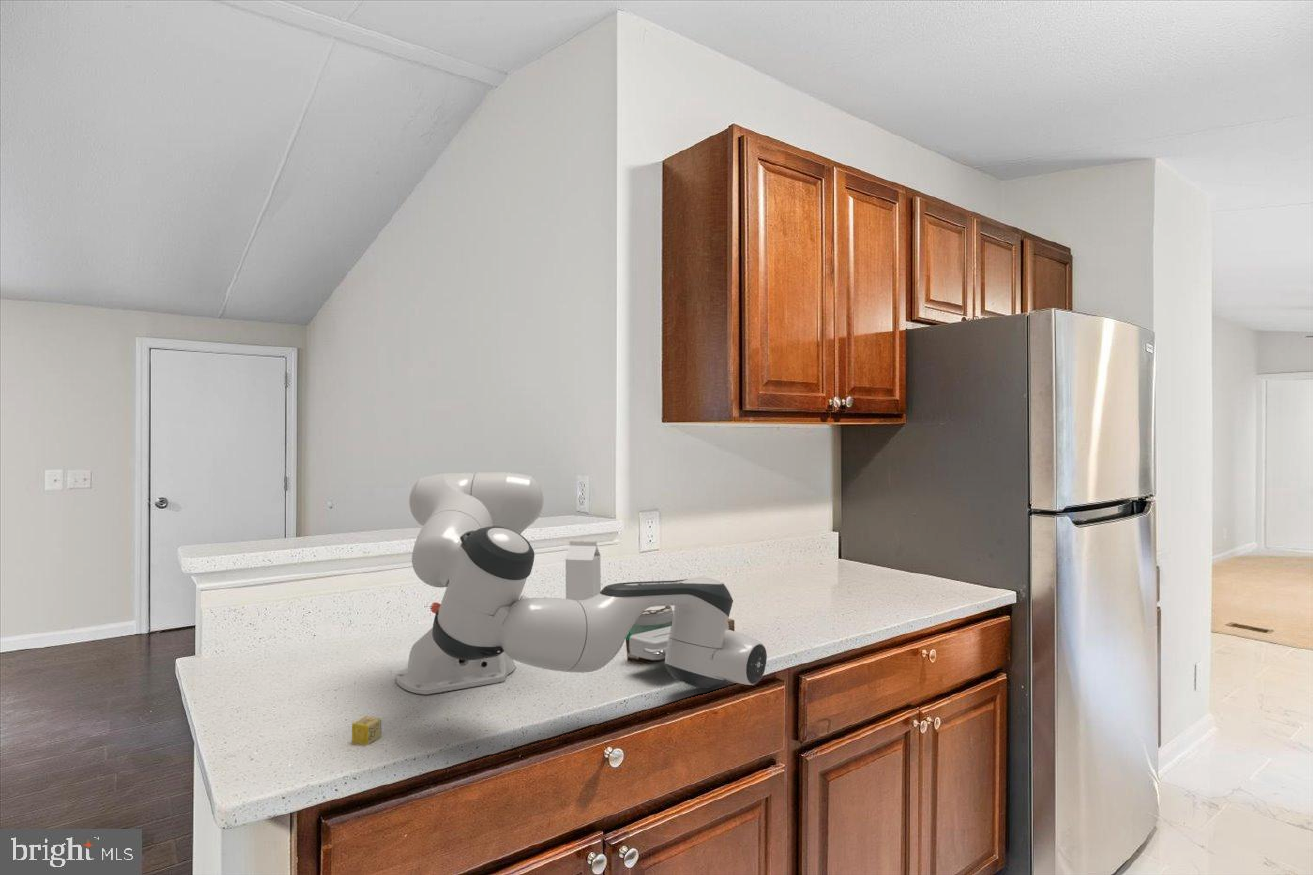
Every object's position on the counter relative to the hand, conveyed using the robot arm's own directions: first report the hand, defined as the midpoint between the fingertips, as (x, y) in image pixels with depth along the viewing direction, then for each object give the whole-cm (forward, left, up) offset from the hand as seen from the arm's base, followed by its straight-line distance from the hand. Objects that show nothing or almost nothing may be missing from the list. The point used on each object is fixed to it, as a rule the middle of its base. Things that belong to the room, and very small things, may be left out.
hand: (651, 630), depth 154 cm
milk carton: (+9, +38, -6) cm, 40 cm away
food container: (0, -1, -6) cm, 6 cm away
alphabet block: (-59, -3, -6) cm, 59 cm away
